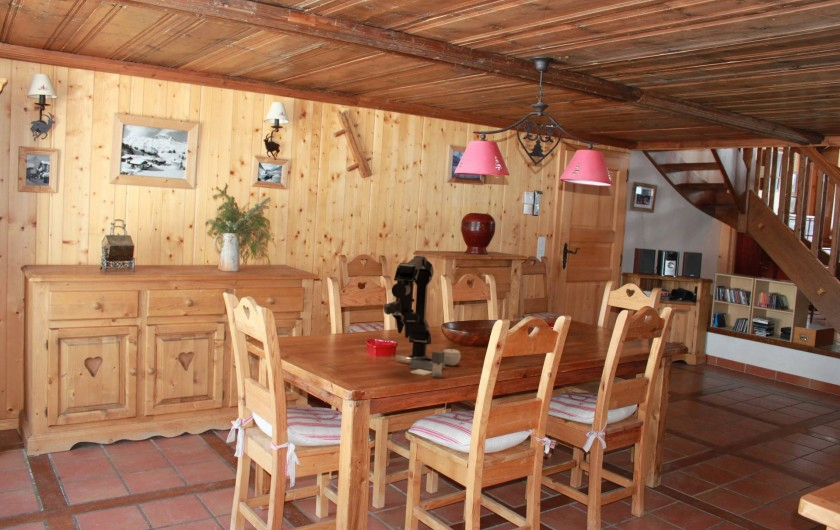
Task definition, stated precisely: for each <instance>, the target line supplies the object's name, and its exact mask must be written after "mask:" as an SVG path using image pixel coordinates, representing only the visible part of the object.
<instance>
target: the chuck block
mask: <svg viewBox="0 0 840 530" xmlns="http://www.w3.org/2000/svg"><path fill="white" fill-rule="evenodd" d="M428 356H429V355H427V356H422V357H409V356H403V355H398V354H397V355H396V356H395V359H396V360H397V361H402V362H408V363H410V365H409V368H410V369H413V370H417V369H422V370H426V371H431V372H433V362H432V356H429V357H428ZM445 366H446V364H445V360H444V363H442V370H444V369H445V368H446V367H445Z"/></svg>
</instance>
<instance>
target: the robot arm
mask: <svg viewBox="0 0 840 530" xmlns="http://www.w3.org/2000/svg"><path fill="white" fill-rule="evenodd" d="M434 272H435V271H434V266H433V264H432V263H431V262H430V261H429V260H428V259H427V257H426V256H423V255H414V256H413V258H412V259H410V260H409V261H408V262H399V264H398V265H397V267H396V271H395V274H394V277H393V278H394V279H393V281H396V283H395V284H393V285H392V288H391V294H392V295H393V297H394V298H395V301H392V302H389V303H386V304H384V305H382V308H383V312H384V314H385V315H391V316H392V318H394V320H395V324H396V329H397V333H398V334H402V332H403V331H404V338H405V339H409V343H412V347H411V354H409V355H408V357H409V358H413V357H422V356H428V357H430V355H427V350H428V349H427V348H428V345H431V344H432V334H431V330H430V325H429V323H428V321H427V318H426V317H427V303H428V302H427V301H428V286H429V285H430V283H431V281H432V280H433V277H434ZM415 285H416V294H415V298H414V289H415V287H414V286H415ZM413 303H415V310H414V309H413ZM403 329H404V330H403Z"/></svg>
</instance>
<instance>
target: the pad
mask: <svg viewBox="0 0 840 530" xmlns="http://www.w3.org/2000/svg"><path fill="white" fill-rule="evenodd" d="M410 373H411V374H414V375H418V376H428V375H431V374H432V372H431V371H426V370H422V369H413V370H411V371H410Z"/></svg>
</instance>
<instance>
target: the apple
mask: <svg viewBox="0 0 840 530" xmlns="http://www.w3.org/2000/svg"><path fill="white" fill-rule="evenodd" d="M442 352H444V360H445V366H451V367H452V366H456V365H458V363H460V360H461V357H462V355H461V351H460V350H458V349H454V348H447V349H443V350H442Z"/></svg>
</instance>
